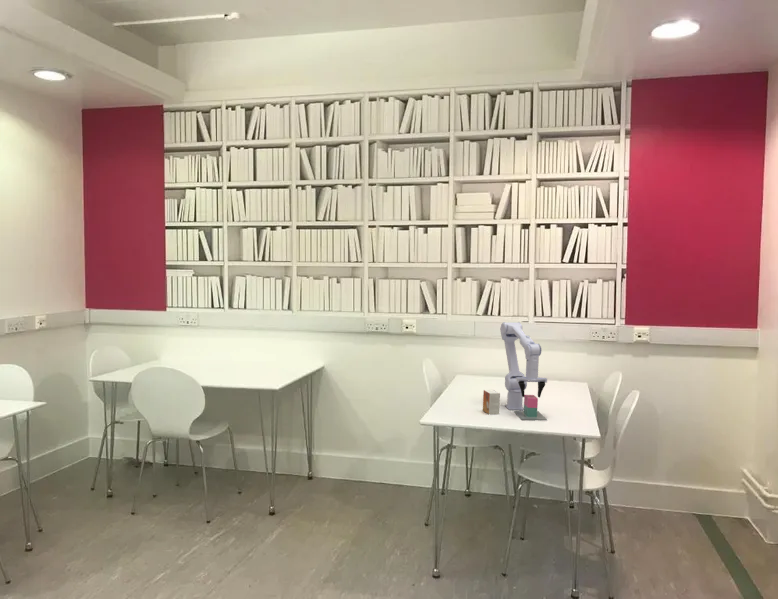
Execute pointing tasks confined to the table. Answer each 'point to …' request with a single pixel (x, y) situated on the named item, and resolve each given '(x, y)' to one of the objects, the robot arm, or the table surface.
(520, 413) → the baseplate
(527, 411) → the teal brick
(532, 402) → the raspberry brick
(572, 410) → the table surface
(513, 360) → the robot arm
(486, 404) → the small box
